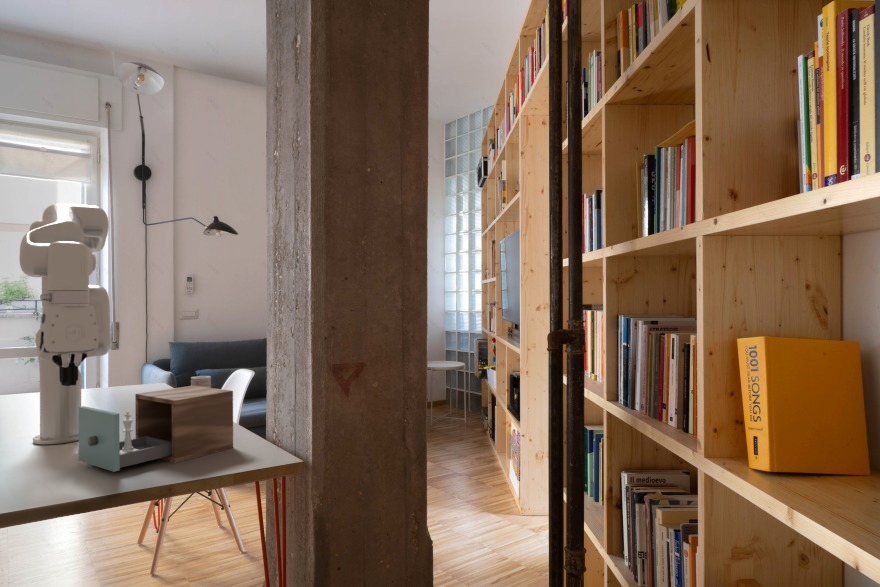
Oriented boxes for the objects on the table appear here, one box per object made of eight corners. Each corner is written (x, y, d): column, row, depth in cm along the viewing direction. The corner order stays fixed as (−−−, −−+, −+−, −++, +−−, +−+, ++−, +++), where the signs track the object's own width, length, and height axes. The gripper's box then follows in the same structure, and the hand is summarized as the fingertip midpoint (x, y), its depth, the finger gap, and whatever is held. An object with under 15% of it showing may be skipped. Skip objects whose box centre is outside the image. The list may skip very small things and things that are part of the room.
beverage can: (215, 426, 173) (215, 376, 173) (198, 429, 168) (198, 378, 168) (203, 423, 176) (203, 374, 176) (187, 427, 171) (186, 377, 171)
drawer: (73, 461, 132) (72, 407, 132) (142, 446, 145) (142, 397, 145) (108, 473, 123) (107, 415, 123) (178, 455, 136) (178, 403, 137)
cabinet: (135, 452, 144) (135, 393, 144) (193, 438, 158) (193, 385, 158) (174, 462, 135) (174, 400, 135) (233, 447, 148) (232, 390, 148)
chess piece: (125, 458, 131) (125, 414, 131) (110, 456, 133) (110, 412, 133) (144, 453, 136) (144, 410, 136) (130, 450, 138) (130, 409, 138)
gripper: (36, 299, 116) (37, 391, 115) (113, 299, 128) (113, 382, 128) (20, 300, 120) (20, 388, 119) (96, 299, 132) (96, 379, 132)
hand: (68, 385), depth 124 cm, fingers closed
